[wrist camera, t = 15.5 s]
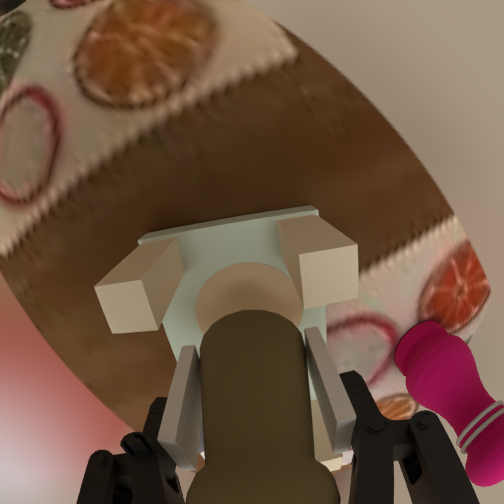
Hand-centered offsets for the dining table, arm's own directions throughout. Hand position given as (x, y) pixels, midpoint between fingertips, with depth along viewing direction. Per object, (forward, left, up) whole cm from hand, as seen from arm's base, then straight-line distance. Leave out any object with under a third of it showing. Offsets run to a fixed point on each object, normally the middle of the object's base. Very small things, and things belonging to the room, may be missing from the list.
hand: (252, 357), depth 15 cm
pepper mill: (+9, +16, -7) cm, 20 cm away
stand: (+3, -1, -7) cm, 8 cm away
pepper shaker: (0, 0, 0) cm, 0 cm away
